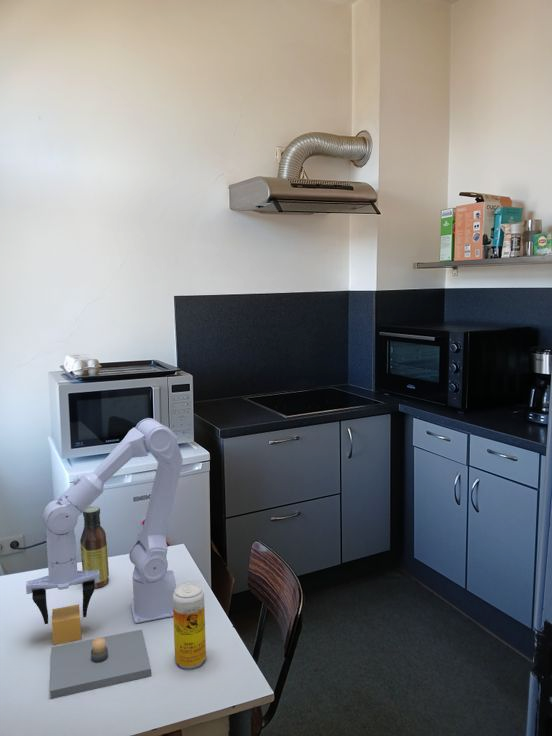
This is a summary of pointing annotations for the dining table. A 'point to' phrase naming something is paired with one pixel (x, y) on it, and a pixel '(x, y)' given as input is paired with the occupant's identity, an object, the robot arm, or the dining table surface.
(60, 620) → the orange cube
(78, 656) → the post board
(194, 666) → the beer can
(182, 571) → the dining table surface
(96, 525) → the sauce bottle
